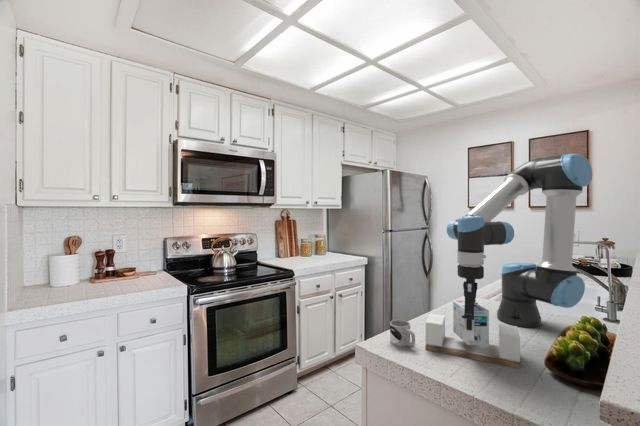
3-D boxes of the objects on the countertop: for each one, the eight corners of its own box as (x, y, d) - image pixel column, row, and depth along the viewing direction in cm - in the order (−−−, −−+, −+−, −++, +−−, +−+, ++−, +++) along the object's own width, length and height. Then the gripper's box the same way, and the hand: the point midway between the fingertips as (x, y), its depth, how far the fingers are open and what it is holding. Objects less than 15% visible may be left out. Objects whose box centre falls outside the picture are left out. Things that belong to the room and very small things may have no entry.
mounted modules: (517, 348, 97) (517, 326, 97) (519, 361, 89) (520, 337, 89) (429, 333, 109) (429, 313, 109) (425, 343, 101) (425, 322, 101)
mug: (386, 340, 108) (386, 321, 108) (400, 336, 111) (400, 318, 111) (406, 352, 99) (406, 332, 99) (422, 348, 102) (421, 328, 102)
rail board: (516, 353, 97) (516, 347, 97) (520, 368, 89) (520, 362, 89) (430, 337, 110) (430, 332, 110) (425, 349, 101) (425, 343, 101)
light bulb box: (489, 345, 94) (490, 310, 94) (467, 345, 94) (467, 310, 93) (471, 331, 104) (472, 299, 104) (452, 331, 104) (452, 299, 104)
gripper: (483, 273, 86) (483, 350, 87) (484, 259, 107) (483, 321, 108) (454, 270, 90) (454, 344, 90) (460, 258, 111) (460, 318, 111)
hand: (470, 332), depth 99 cm, fingers closed on light bulb box, 12 cm apart
